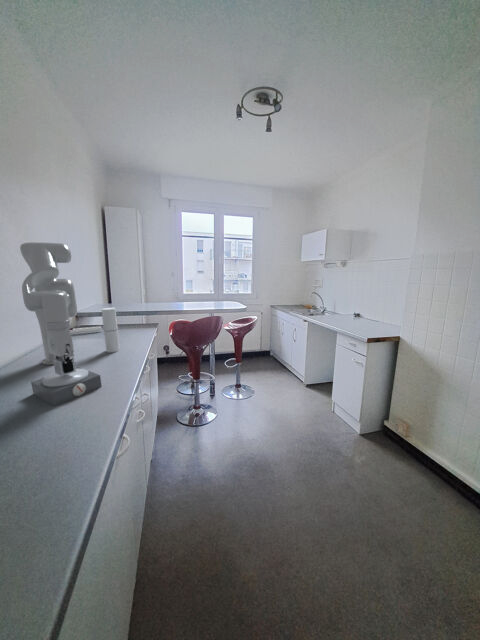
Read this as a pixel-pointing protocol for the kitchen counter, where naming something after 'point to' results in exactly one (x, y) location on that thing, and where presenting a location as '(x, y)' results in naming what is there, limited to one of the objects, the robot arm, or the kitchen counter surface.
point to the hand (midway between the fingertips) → (65, 370)
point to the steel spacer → (61, 366)
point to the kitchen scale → (65, 386)
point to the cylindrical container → (110, 329)
